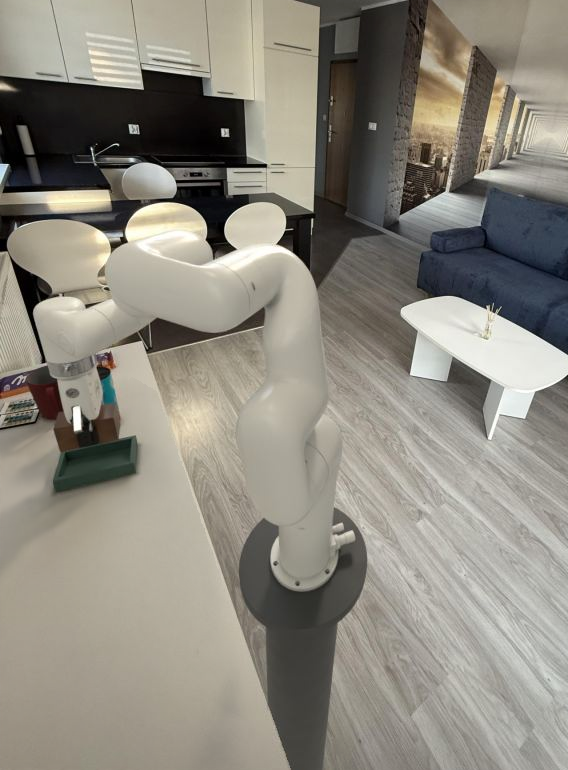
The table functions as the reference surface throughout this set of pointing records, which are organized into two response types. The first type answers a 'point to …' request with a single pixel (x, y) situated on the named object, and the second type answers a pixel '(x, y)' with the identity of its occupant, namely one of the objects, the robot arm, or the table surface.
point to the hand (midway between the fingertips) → (91, 434)
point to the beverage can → (107, 387)
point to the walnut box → (104, 424)
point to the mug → (45, 392)
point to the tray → (96, 463)
